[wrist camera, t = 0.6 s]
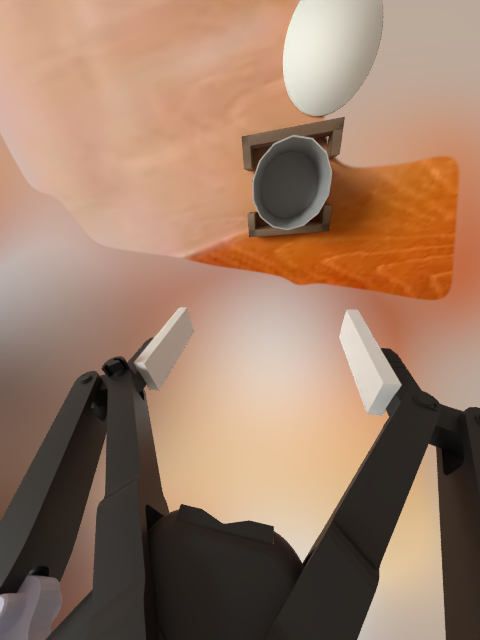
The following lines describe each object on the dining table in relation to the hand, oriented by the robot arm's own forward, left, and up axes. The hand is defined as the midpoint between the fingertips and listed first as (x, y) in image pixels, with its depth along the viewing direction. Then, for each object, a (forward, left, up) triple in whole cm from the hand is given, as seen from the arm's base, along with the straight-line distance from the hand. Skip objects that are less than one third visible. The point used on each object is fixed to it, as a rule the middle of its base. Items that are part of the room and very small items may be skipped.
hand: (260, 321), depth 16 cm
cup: (-9, +3, -23) cm, 25 cm away
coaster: (-21, +7, -22) cm, 31 cm away
